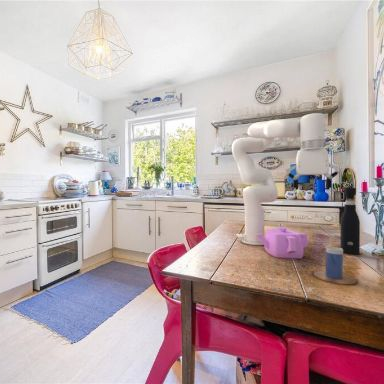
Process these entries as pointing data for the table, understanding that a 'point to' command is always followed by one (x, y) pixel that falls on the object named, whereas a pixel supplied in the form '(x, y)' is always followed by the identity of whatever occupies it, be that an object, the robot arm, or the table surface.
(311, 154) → the robot arm
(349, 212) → the black water bottle
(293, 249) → the teakettle
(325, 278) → the coaster
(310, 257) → the table surface
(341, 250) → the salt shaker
